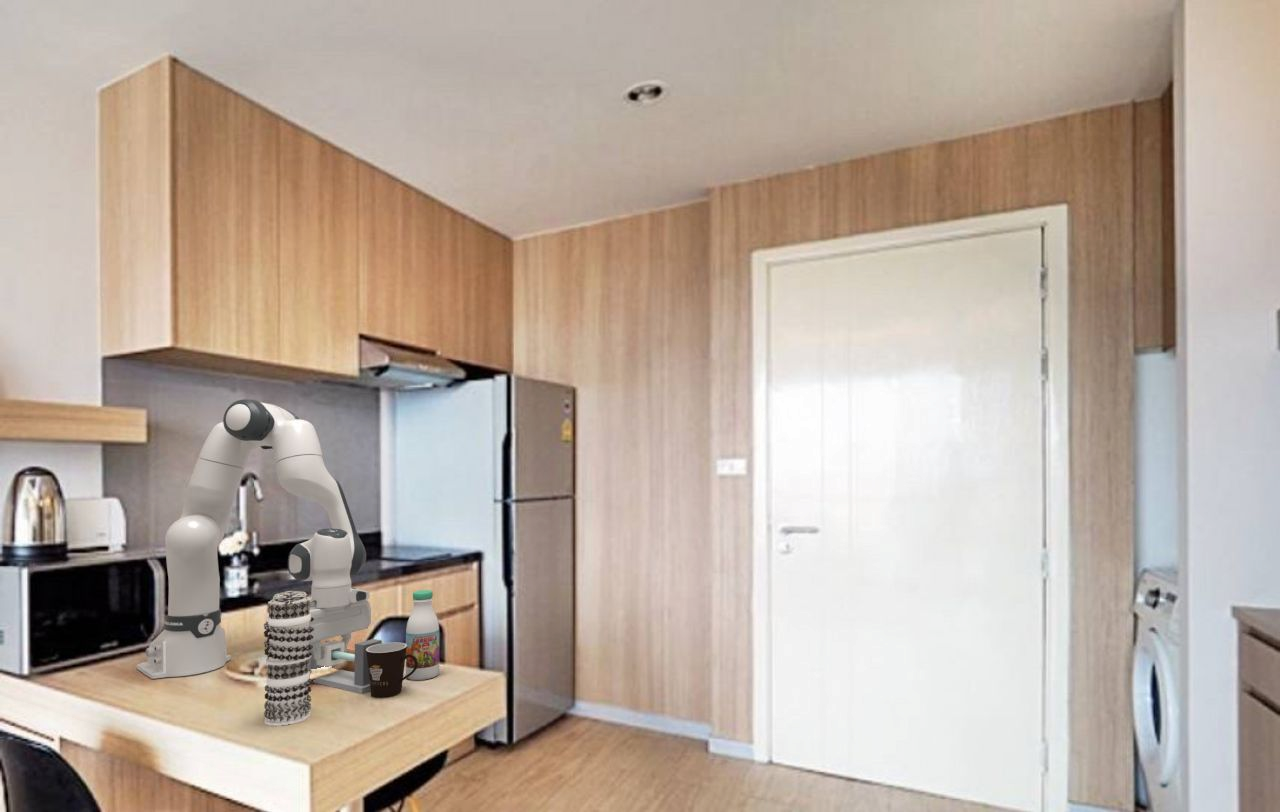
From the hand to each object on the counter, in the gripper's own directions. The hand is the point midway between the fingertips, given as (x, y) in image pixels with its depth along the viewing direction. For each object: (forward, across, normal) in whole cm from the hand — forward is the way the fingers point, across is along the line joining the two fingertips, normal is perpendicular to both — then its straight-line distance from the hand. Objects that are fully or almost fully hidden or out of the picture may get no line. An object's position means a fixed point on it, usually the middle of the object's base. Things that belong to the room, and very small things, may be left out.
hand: (330, 656), depth 168 cm
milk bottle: (+6, +12, -18) cm, 22 cm away
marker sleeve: (+2, 0, 0) cm, 2 cm away
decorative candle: (+6, -20, -15) cm, 26 cm away
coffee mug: (+6, -1, -22) cm, 23 cm away
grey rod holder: (+5, 0, -5) cm, 7 cm away
